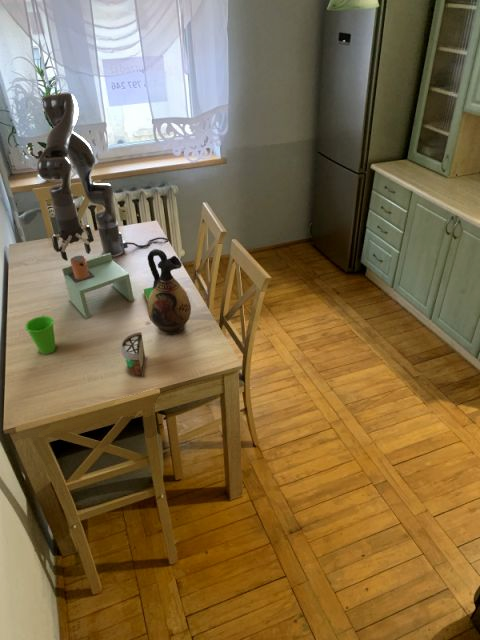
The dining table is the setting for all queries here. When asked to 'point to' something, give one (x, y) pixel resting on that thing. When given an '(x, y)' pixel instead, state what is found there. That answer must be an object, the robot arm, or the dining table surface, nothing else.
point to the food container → (134, 353)
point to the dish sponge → (147, 292)
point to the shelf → (97, 281)
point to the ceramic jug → (167, 296)
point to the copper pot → (79, 267)
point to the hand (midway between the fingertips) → (77, 256)
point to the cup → (42, 333)
